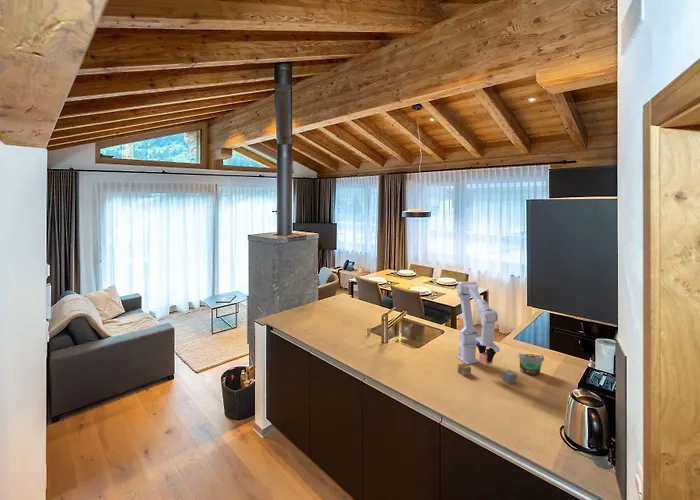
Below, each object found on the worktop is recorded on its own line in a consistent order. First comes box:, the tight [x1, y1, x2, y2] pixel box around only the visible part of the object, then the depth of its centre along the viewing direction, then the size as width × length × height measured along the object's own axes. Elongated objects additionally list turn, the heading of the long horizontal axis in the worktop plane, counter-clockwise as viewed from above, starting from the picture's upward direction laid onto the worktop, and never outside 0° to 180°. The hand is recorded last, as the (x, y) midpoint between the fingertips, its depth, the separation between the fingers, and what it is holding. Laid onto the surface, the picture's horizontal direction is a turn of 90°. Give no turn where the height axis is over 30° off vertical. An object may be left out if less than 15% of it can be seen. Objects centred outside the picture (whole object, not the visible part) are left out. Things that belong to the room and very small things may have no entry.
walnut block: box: [457, 362, 472, 377], centre depth 181 cm, size 4×4×4 cm
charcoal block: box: [501, 369, 518, 385], centre depth 174 cm, size 4×4×4 cm
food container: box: [517, 352, 545, 377], centre depth 180 cm, size 12×6×10 cm, turn 81°
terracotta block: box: [478, 351, 494, 366], centre depth 177 cm, size 4×4×4 cm
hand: (485, 359), depth 177 cm, fingers closed on terracotta block, 4 cm apart
